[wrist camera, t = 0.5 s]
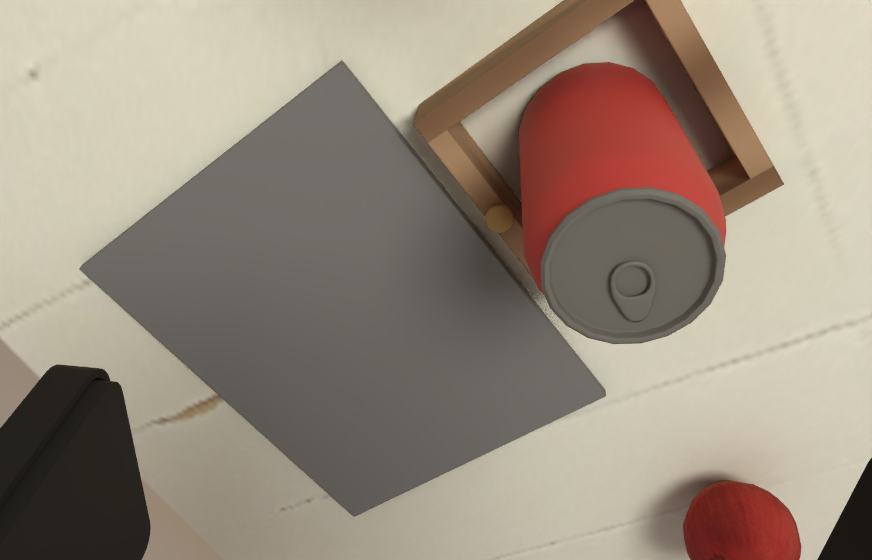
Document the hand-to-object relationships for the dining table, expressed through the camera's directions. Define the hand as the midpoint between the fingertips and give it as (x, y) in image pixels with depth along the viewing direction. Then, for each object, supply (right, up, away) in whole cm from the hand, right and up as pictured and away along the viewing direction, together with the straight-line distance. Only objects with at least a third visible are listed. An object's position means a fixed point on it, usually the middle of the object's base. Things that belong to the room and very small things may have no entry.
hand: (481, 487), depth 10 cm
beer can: (+6, +9, +24) cm, 26 cm away
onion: (+16, -9, +34) cm, 39 cm away
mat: (-5, 0, +30) cm, 30 cm away
